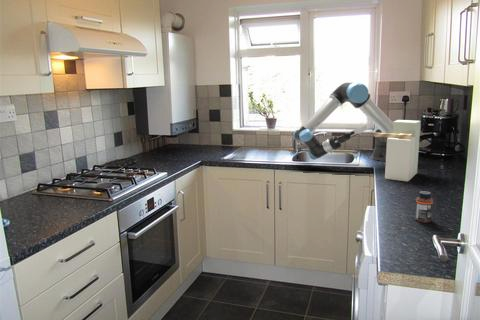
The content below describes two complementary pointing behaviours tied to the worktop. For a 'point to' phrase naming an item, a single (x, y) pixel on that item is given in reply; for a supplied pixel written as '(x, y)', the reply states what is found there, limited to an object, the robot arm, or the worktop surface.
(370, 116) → the robot arm
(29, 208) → the worktop surface
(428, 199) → the supplement bottle
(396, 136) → the t-shaped wooden block
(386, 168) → the tall pale green block
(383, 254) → the worktop surface
